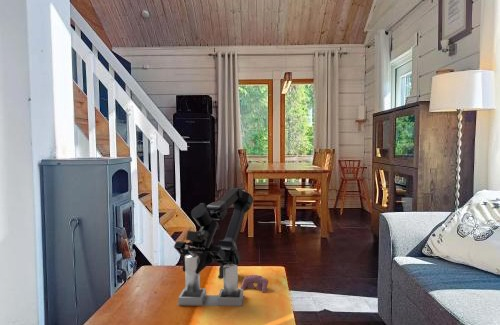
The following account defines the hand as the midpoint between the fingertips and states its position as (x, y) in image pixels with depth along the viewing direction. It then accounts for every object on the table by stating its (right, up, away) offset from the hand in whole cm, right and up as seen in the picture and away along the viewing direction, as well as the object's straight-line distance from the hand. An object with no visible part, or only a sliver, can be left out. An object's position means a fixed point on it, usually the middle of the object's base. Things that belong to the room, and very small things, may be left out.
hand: (190, 272), depth 124 cm
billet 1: (+1, -7, +2) cm, 7 cm away
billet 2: (+14, -10, +1) cm, 17 cm away
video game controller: (+22, -11, +11) cm, 27 cm away
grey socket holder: (+7, -11, +1) cm, 13 cm away
